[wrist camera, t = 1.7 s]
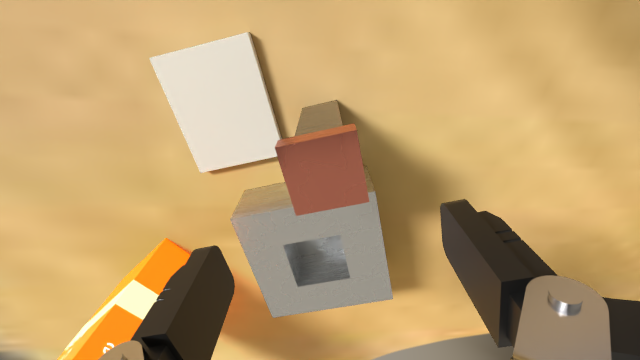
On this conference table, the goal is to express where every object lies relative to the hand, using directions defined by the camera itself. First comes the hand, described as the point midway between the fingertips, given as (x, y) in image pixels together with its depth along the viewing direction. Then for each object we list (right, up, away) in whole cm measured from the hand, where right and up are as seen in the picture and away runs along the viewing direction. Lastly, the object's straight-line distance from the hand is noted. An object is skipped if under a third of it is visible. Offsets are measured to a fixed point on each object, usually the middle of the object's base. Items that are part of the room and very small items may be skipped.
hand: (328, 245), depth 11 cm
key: (0, +7, +15) cm, 17 cm away
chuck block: (-1, -3, +20) cm, 20 cm away
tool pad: (-9, +8, +15) cm, 19 cm away
